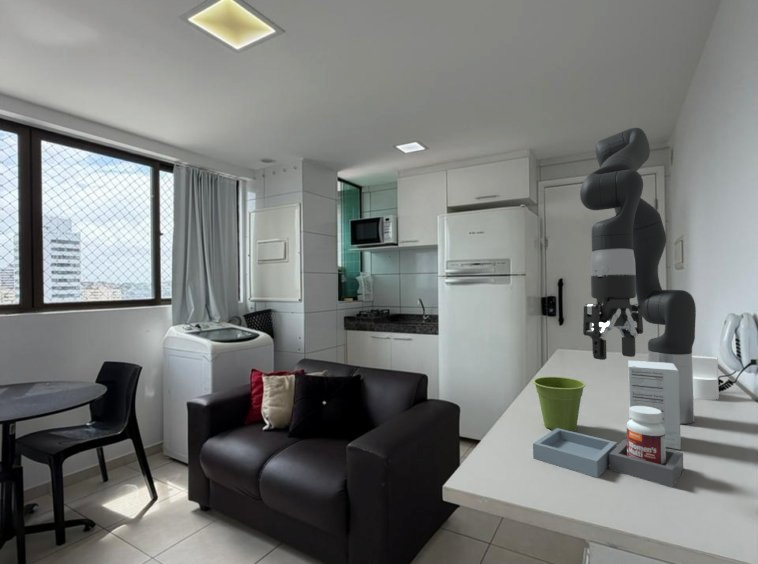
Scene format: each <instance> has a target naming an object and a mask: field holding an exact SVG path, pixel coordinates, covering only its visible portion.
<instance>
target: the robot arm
mask: <svg viewBox="0 0 758 564" xmlns="http://www.w3.org/2000/svg"><path fill="white" fill-rule="evenodd" d="M650 154H651V147H650V143H649V140H648V137H647V135H646V132H645V131H644V130H643V129H642V128H639V127H632V128H628V129H625V130H623V131H620V132H617V133H615V134H613V135H611V136H608V137H606V138H603V139H600V140H599V141H597V142H596V145H595V156H596V159H597V162H598V165H599V168H598V169H597V170H594V171H593V172H591V173H590V174H588V175H587V176H586V178H584V181H582V184H581V186H580V191H579V192H580V193H579V196H580V201H581V203H582V204H583V206H584V207H585V208H587V209H589V210H590V211H603V210H611V209H614V212H615V215H614V216H612V217H610V218H607V219H604V220H600V221H598V222H595V223H594V224H593V225H592V226H591V259H590V295H591V298H593V299H596V303H584V304H583V323H582V327H583V328H582V329H583V330H582V334H583V335H584V336H585V337H586V336H587V337H589V338H590V339H591V340H592V345H591V346H592V356H593V358H594V359H595V360H601V361H602V360H603V361H604V360H606V359H607V340H606V338H607V335H608V334H609V332H610V331H611V330H613V329H614V327H615V328H616V329H618V330H619V332H620V334H621V336H622V337H621V354H622V355H623V356H624V357H629V358H634V357H635V356H636V338H638V335H639V334H640V335H641V334H642V335H643V333H644V324H643V322H644V321H645V322H648V323H649V324H654V325H660V326H661V325H662V326H664V332H663V334H662V335H659V336H657V337H653V338H651V339H649V340H648V342H647V355H648V356H647V359H648V361H647V362H663V363H673V364H674V365H675V367H676V368H677V369H678V371H679V402H680V425H681V424H684V425H685V424H692V423H693V422H694V421H695V415H694V414H695V413H694V412H695V411H694V408H695V407H694V398H693V368H692V356H693V345H694V343H695V341H696V340H695V339H696V316H697V315H696V314H697V313H696V312H697V308H696V302H695V299H694V297H693V295H692V294H691V293H690V292H688V291H687V290H683V289H663V288H662V285H661V283H660V279H659V274H658V270H659V266H660V265H659V264H660V262H661V258H662V256H663V253H664V251H665V248H666V244H667V235H666V229H665V227H664V223H663V220H662V219H663V218H662V217H661V214H660V212H659V211H658V210H657V209H656V208H655V207H654V206H653V205H652V204H650V203H648V202H647V201H646V200H645V199H643V198H642V194H643V189H644V180H643V178H642V176H641V174H640V173H639V172H638V170H640V169H641V167H643V165H644V164H645V163H646V162H647V161H648V159H649V157H650ZM635 298H636V300H637V303H631V301H630V299H635ZM643 320H644V321H643ZM591 324H592V328H591ZM600 330H601V331H600Z"/></svg>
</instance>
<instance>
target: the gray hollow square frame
mask: <svg viewBox="0 0 758 564" xmlns="http://www.w3.org/2000/svg"><path fill="white" fill-rule="evenodd" d="M609 460H610V465H609V470H611V471H614V472H618V473H621V474H625V475H627V476H632V477H634V478H639V479H641V480H644V481H648V482H653V483H656V484H660V485H662V486H665V487H669V488H674V486H675V484H676V482H677V481H678V479H679V477H680V476H681V474H682V472H683V470H684V452H680V451H679V450H673V449H670V448H668V449H667V448H666V466H665V465H661V464H657V463H653V462H649V461H645V460H641V459H637V458H634V457H630V456H627V438H626V439H625V438H624V439H623V440H621V442H619V444H617V447H616V448H615V449H614V450H613V451H612V452H611V453H610V454H609Z"/></svg>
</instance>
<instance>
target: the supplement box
mask: <svg viewBox="0 0 758 564" xmlns="http://www.w3.org/2000/svg"><path fill="white" fill-rule="evenodd" d="M627 368H628V369H627V378H628V393H629V395H628V396H629V397H628V421H629V420H631V418H630V407H632V406H646V407H652V408H656V409H658V410H660V411H661V412H662V422H660V424H661V425H662V426H663V427H664V428H665V442H666V449H667V448H668V449H672V450H673V449H674V450H678V451H679V450H681V448H682V446H681V445H682V443H681V442H682V441H681V440H682V439H681V424H680V402H679V371H678V369H677V368H676V367H675V365H674V364H673V363H663V362H649V361H647V360H646V361H645V360H643V361H642V360H627Z"/></svg>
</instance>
